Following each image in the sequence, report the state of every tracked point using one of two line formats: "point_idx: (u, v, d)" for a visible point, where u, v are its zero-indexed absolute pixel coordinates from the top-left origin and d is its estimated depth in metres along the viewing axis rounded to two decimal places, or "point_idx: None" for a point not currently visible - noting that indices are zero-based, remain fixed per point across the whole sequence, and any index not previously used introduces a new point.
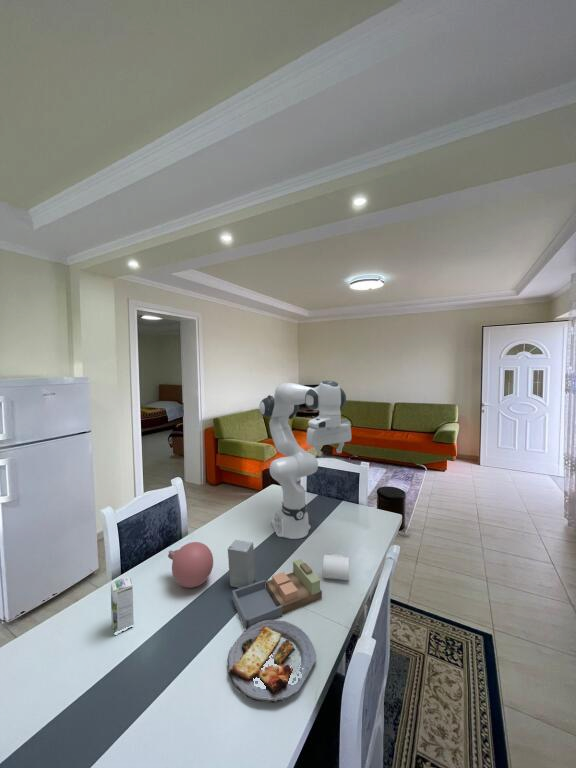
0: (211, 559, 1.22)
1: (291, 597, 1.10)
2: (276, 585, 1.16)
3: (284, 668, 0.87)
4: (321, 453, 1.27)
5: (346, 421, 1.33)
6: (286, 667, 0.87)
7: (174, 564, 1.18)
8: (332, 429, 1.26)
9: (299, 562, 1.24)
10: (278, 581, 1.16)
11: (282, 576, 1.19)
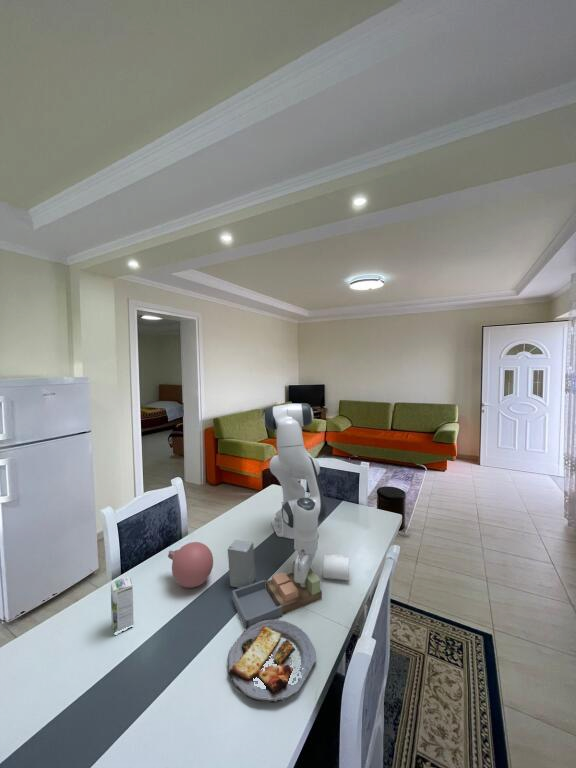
0: (211, 559, 1.22)
1: (291, 597, 1.10)
2: (276, 585, 1.16)
3: (284, 668, 0.87)
4: None
5: None
6: (286, 667, 0.87)
7: (174, 564, 1.18)
8: None
9: None
10: (278, 581, 1.16)
11: (282, 576, 1.19)
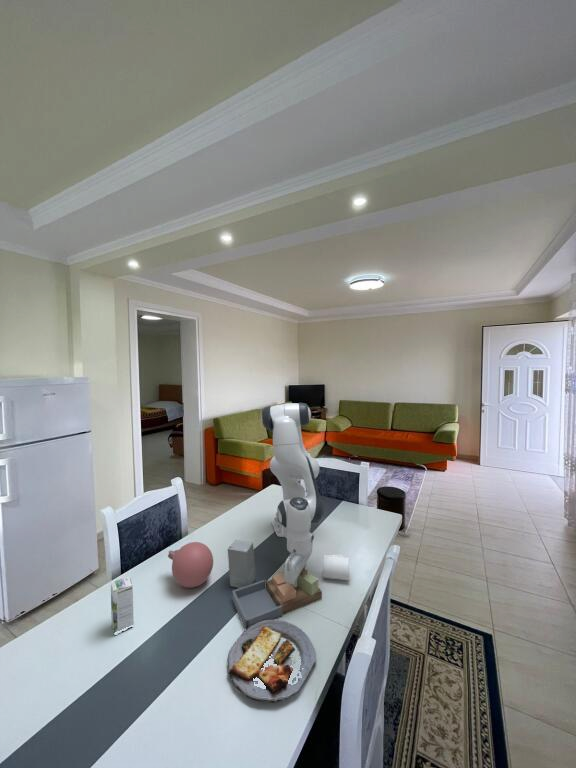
0: (211, 559, 1.22)
1: (289, 598, 1.10)
2: (276, 585, 1.16)
3: (284, 668, 0.87)
4: None
5: None
6: (286, 667, 0.87)
7: (174, 564, 1.18)
8: None
9: None
10: (278, 581, 1.16)
11: (282, 576, 1.19)
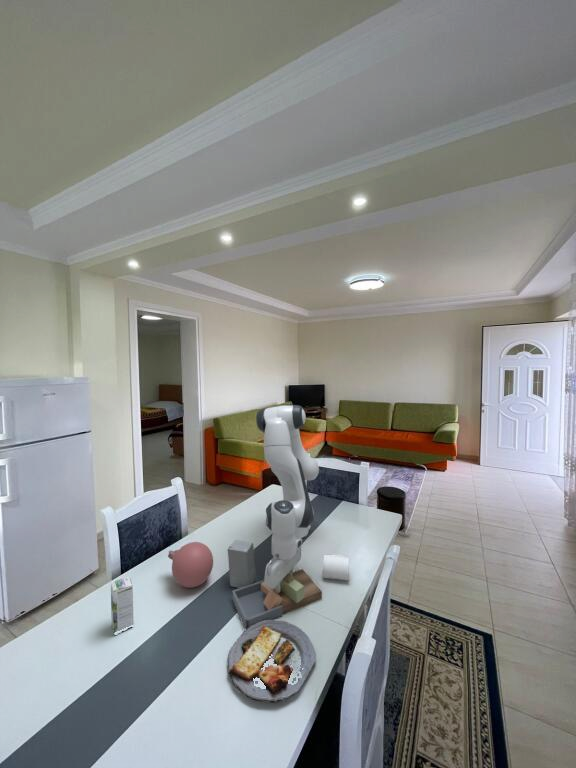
0: (211, 559, 1.22)
1: (276, 606, 1.07)
2: (267, 592, 1.13)
3: (284, 668, 0.87)
4: None
5: None
6: (286, 667, 0.87)
7: (174, 564, 1.18)
8: None
9: None
10: None
11: None
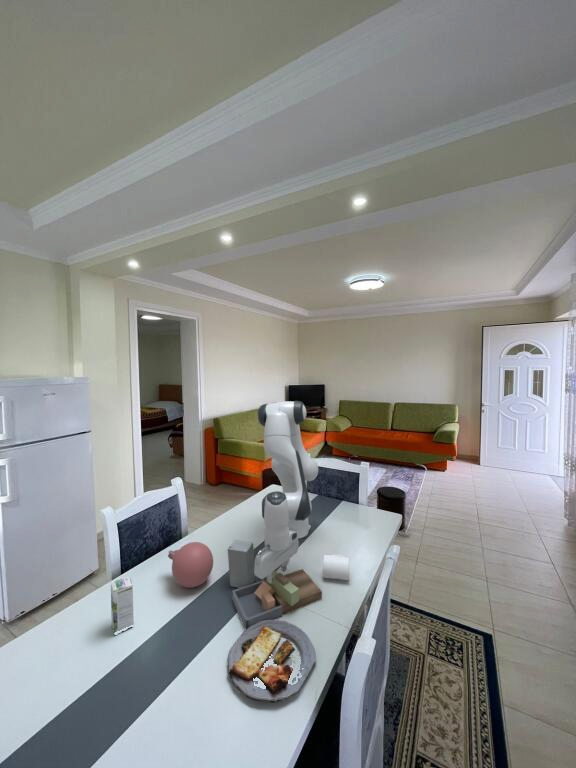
0: (211, 559, 1.22)
1: (272, 608, 1.07)
2: (261, 600, 1.12)
3: (284, 668, 0.87)
4: None
5: None
6: (286, 667, 0.87)
7: (174, 564, 1.18)
8: None
9: (273, 573, 1.17)
10: (261, 596, 1.12)
11: (263, 587, 1.14)
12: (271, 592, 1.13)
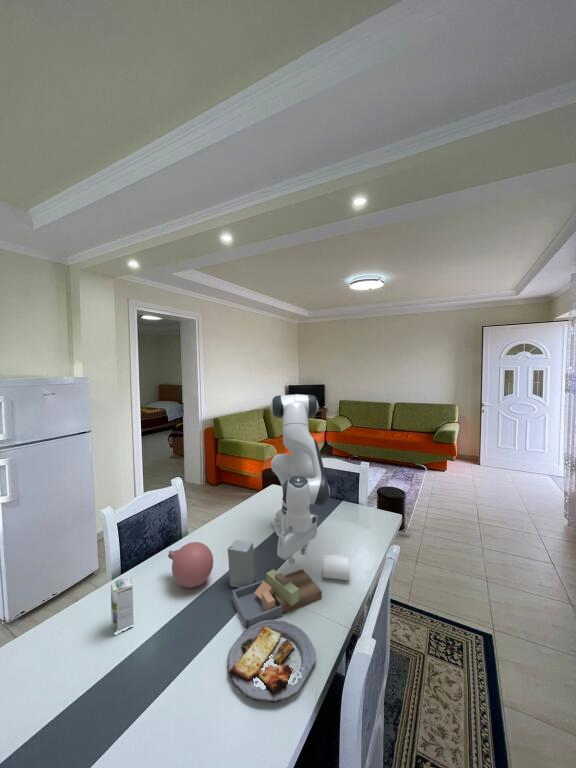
0: (211, 559, 1.22)
1: (272, 608, 1.07)
2: (261, 600, 1.12)
3: (284, 668, 0.87)
4: None
5: None
6: (286, 667, 0.87)
7: (174, 564, 1.18)
8: None
9: (273, 573, 1.17)
10: (261, 596, 1.12)
11: (263, 587, 1.14)
12: (271, 592, 1.13)
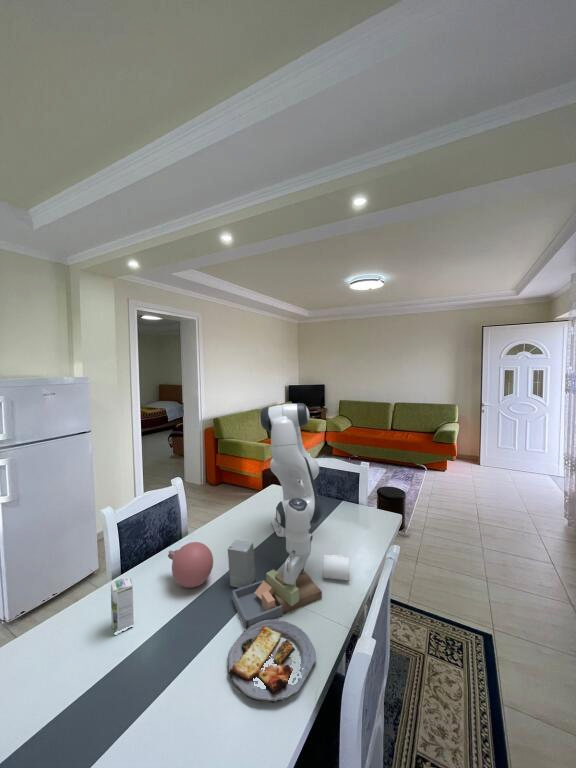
0: (211, 559, 1.22)
1: (272, 608, 1.07)
2: (261, 600, 1.12)
3: (284, 668, 0.87)
4: None
5: None
6: (286, 667, 0.87)
7: (174, 564, 1.18)
8: None
9: (273, 573, 1.17)
10: (261, 596, 1.12)
11: (263, 587, 1.14)
12: (271, 592, 1.13)
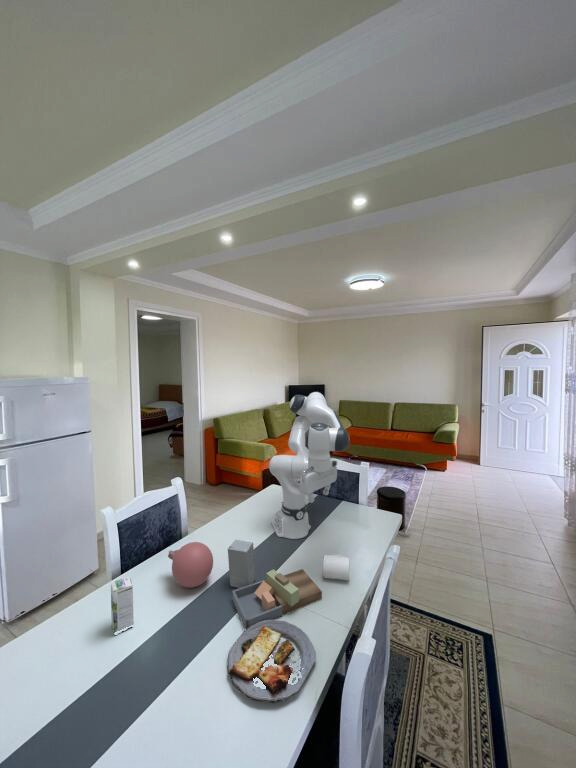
0: (211, 559, 1.22)
1: (272, 608, 1.07)
2: (261, 600, 1.12)
3: (284, 668, 0.87)
4: None
5: None
6: (286, 667, 0.87)
7: (174, 564, 1.18)
8: None
9: (273, 573, 1.17)
10: (261, 596, 1.12)
11: (263, 587, 1.14)
12: (271, 592, 1.13)
